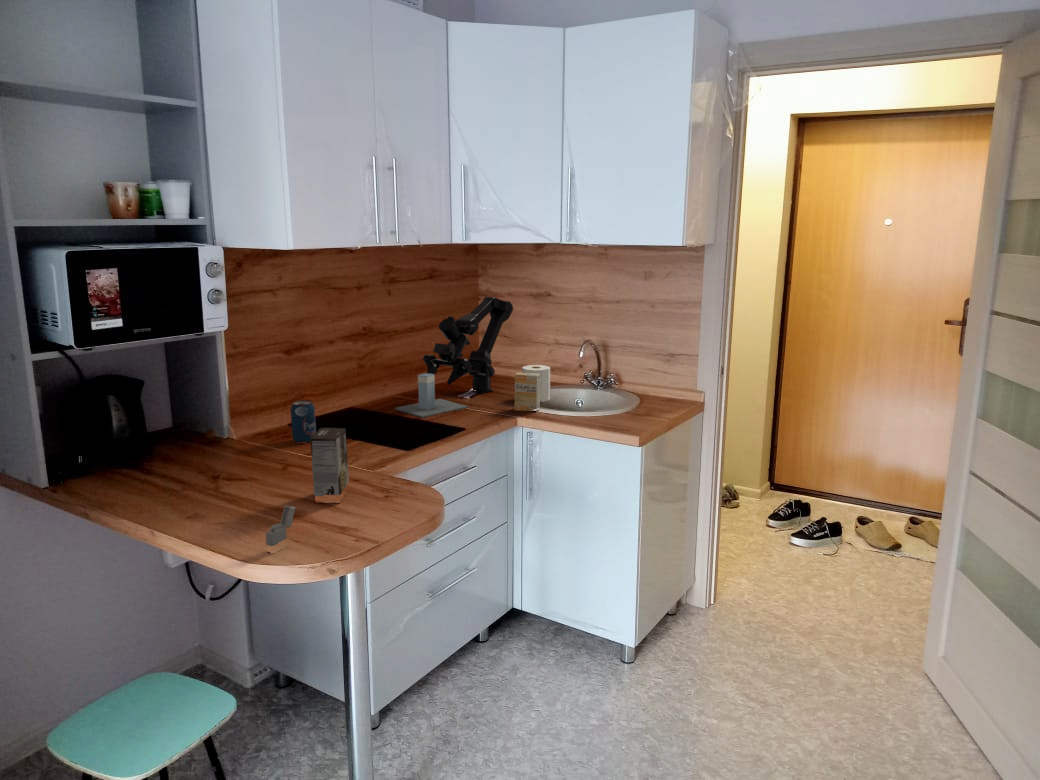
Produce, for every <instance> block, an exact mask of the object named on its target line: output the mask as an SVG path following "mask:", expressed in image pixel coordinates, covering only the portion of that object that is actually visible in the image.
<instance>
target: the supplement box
mask: <svg viewBox="0 0 1040 780" xmlns="http://www.w3.org/2000/svg"><path fill="white" fill-rule="evenodd" d="M540 405H541V402H540V374H535V373H522V371H521V372H520V371H519V372H516V373H515V374H514V411H519V412H527V411H526V410H534V409H537V408H539V407H540V408H541V406H540Z"/></svg>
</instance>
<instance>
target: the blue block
mask: <svg viewBox="0 0 1040 780" xmlns="http://www.w3.org/2000/svg"><path fill="white" fill-rule="evenodd" d="M435 381H436V380H435V375H434V374H429V373H427V372H424V373H420V374H418V375H417V385H418V386H417V387H418V403H419V409H426V410H429V409H432V408H435V400H436V390H435V387H436V386H435Z"/></svg>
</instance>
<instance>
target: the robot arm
mask: <svg viewBox="0 0 1040 780" xmlns="http://www.w3.org/2000/svg"><path fill="white" fill-rule="evenodd" d="M513 310H514V306H513V304H512V302H510V301H509V300H502V299H499V298H497V297H494V296H486V297H484V298H483V299H482V301H481V302H480V303H479V304H478V305H477V306H476V307H474V309H473V310H472V311H470V312H469V314H465V315H462V316H461V317H459V318H457V319H455V318H454V316H448V317H447V318H445V319H443V320H442V321H441V322H439V324H438V329H439V330H440V331H439V332H441V333H442V335H443V336H444V338H445V339H447V340H448V341H449V342H448V343H447V344H446V343H445V344H444V343H438V342H436V343H435V344H434V346H433V353H436V354H437V356H435V355H434V354H424V355H423V357H422V361H423V362H424V363H425V365H426V367H427V371H426V373H429V374H434V376H435V375H436V374H437V373H438V371H439V370H438V369H439V368H440V366H444V367H449V368H450V367H452V371H451V373H450V375H449V378H448V379H447V382H446V384H447V385H448V386H450V385H451V384H453V383H454V382H456V381H457V380H458V379H460V378H461V377H463V376H466V375H467V374H468V375H469V376H470V377H471V376H472V379H473V380H472V389H473V390H476V391H477V392H478V393H479V394H484V393H491V392H494V389H492V388H491V387H492V386H491V385H492V384H491V378H493V377H494V376H495V371H496V370H495V369H494V367H493V366H492V357H491V353H492V351H493V349H494V345H495V344H496V341H497V339H498V335H499V333H500V331H501V328H502V325H503V324H504V323H505V322H506V321H507V320H508V319H510V317H511V315H512V313H513ZM487 315H489V316H490V319H489V322H488V324H487V327H486V330H485V332H484V334H483V337H482V340H481V342H480V344H479V346H478V349H477V350H472V351H471V352H470V356H469V357H468V359H467V358H462V357H463V354H462V353H463V350H464V348H465V346H470V345H471V344H470V343H471V342H470V340H469V337H467V336H466V335H468V336H473V335H474V334H476V332H477V330H478V329H479V325H480V324H479V323H481V322H482V320H484V319H485V317H487ZM437 357H438V358H437ZM477 392H476V393H477Z"/></svg>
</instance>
